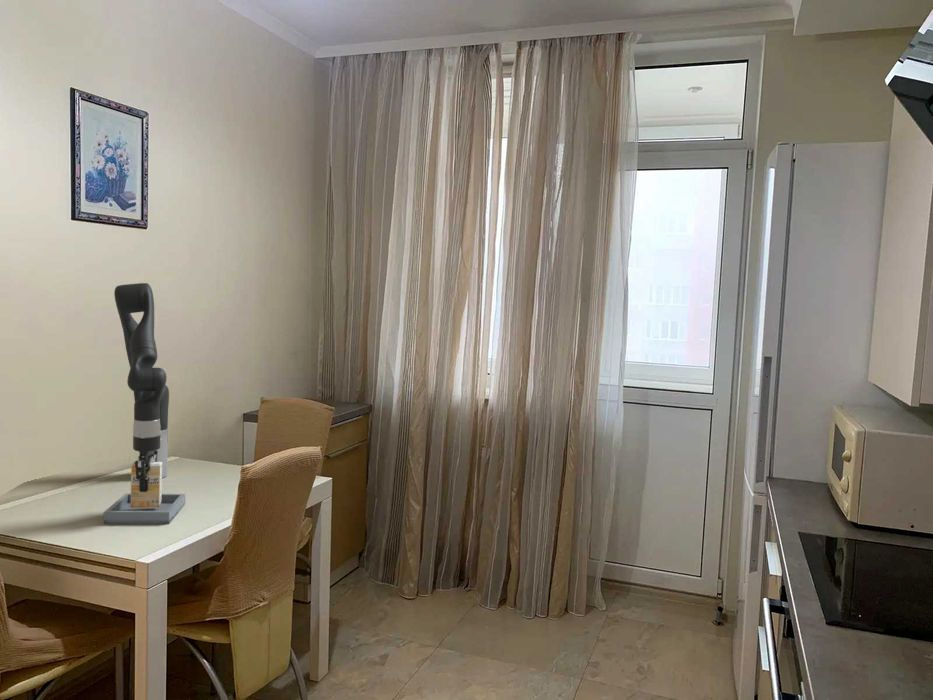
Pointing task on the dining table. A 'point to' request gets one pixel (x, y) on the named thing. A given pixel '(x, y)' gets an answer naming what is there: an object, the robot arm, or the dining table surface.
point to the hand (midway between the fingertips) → (146, 488)
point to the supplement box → (154, 487)
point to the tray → (144, 511)
